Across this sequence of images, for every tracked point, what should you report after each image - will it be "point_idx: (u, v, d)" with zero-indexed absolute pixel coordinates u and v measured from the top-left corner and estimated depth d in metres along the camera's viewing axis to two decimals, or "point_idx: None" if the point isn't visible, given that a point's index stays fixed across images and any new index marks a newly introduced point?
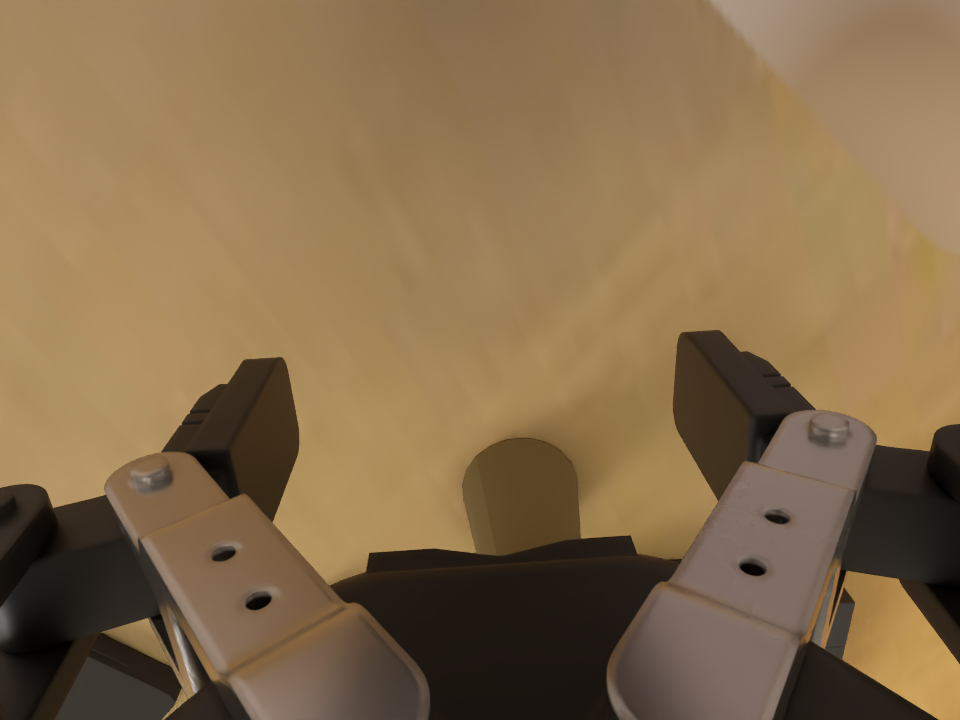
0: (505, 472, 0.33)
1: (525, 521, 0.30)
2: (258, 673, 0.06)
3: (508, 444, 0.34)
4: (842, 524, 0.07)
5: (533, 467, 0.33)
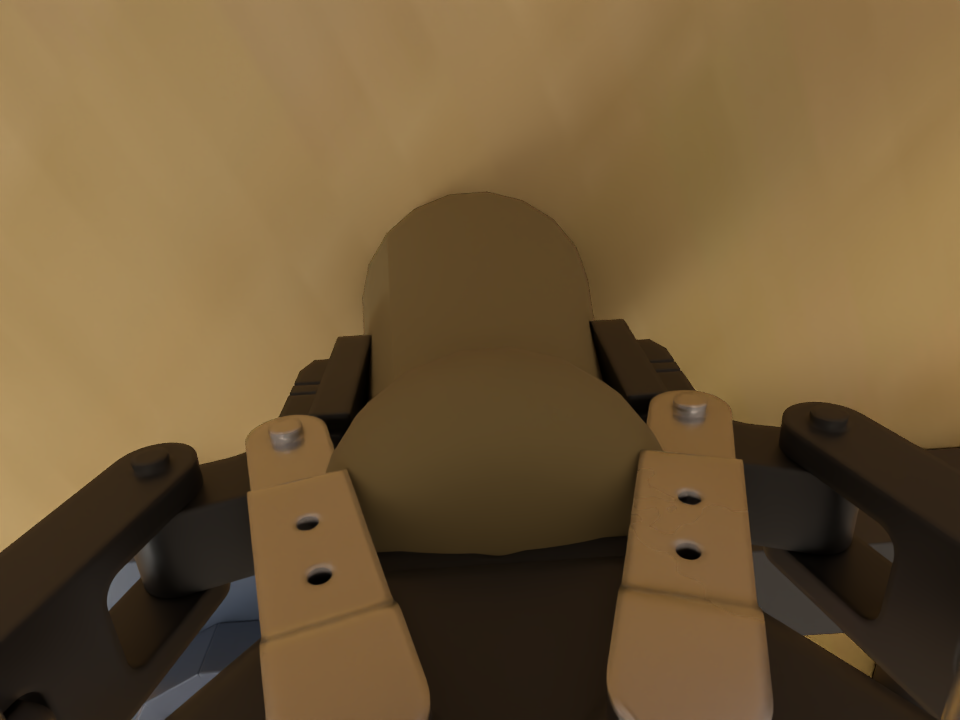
0: (437, 235, 0.15)
1: (468, 296, 0.12)
2: (286, 648, 0.06)
3: (449, 200, 0.17)
4: (744, 493, 0.08)
5: (497, 225, 0.15)
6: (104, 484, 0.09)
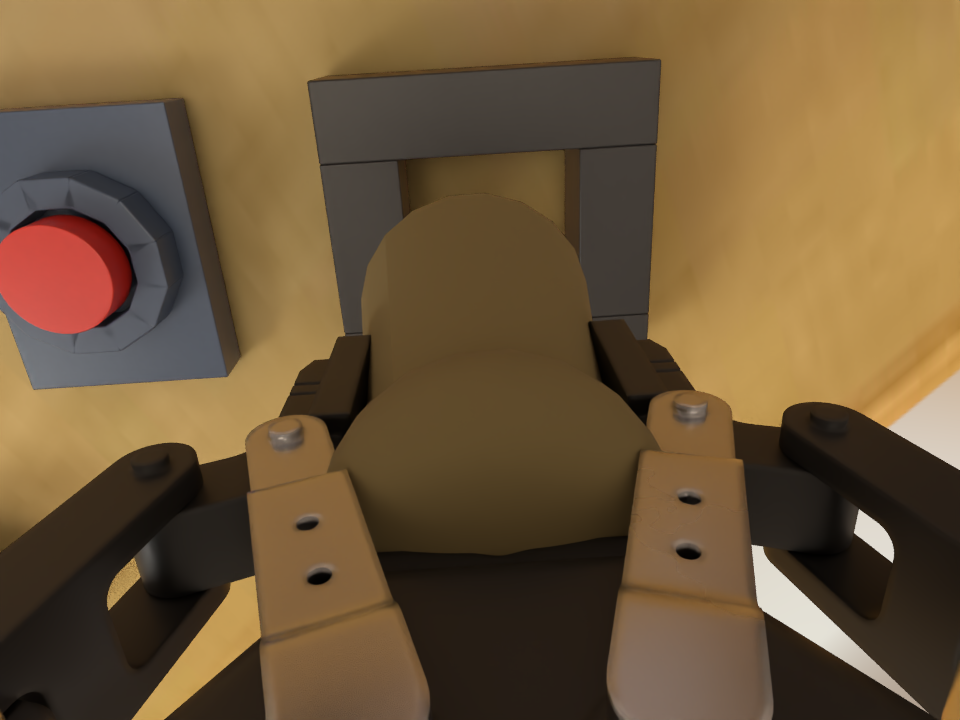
0: (435, 236, 0.15)
1: (468, 298, 0.12)
2: (285, 648, 0.06)
3: (447, 201, 0.17)
4: (745, 493, 0.08)
5: (495, 226, 0.15)
6: (104, 484, 0.09)
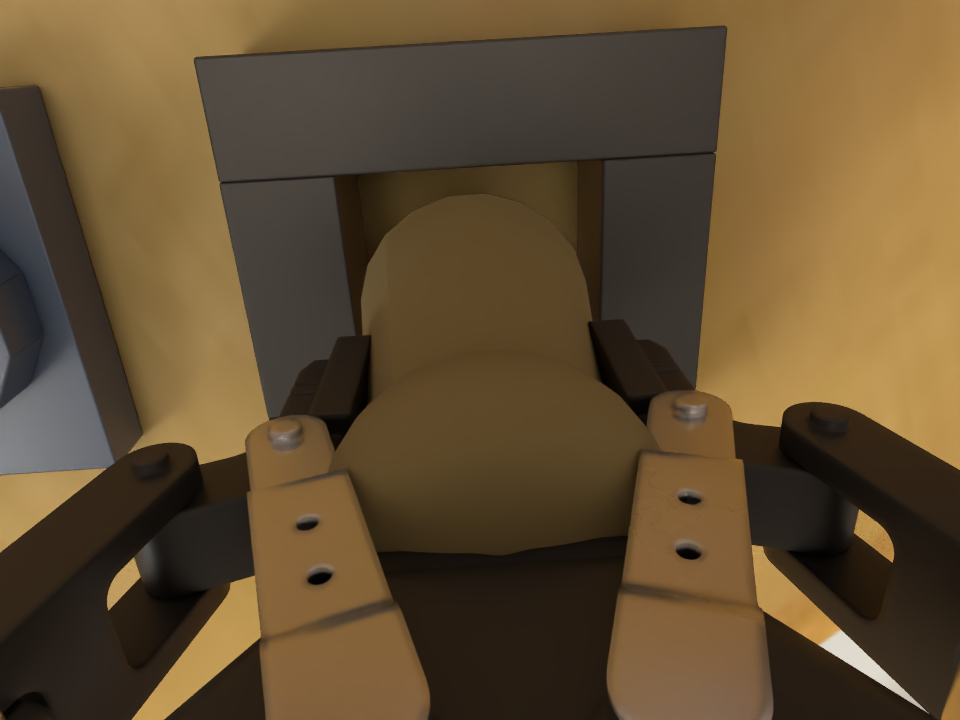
0: (435, 236, 0.15)
1: (467, 298, 0.12)
2: (286, 648, 0.06)
3: (447, 201, 0.17)
4: (745, 493, 0.08)
5: (495, 226, 0.15)
6: (103, 484, 0.09)
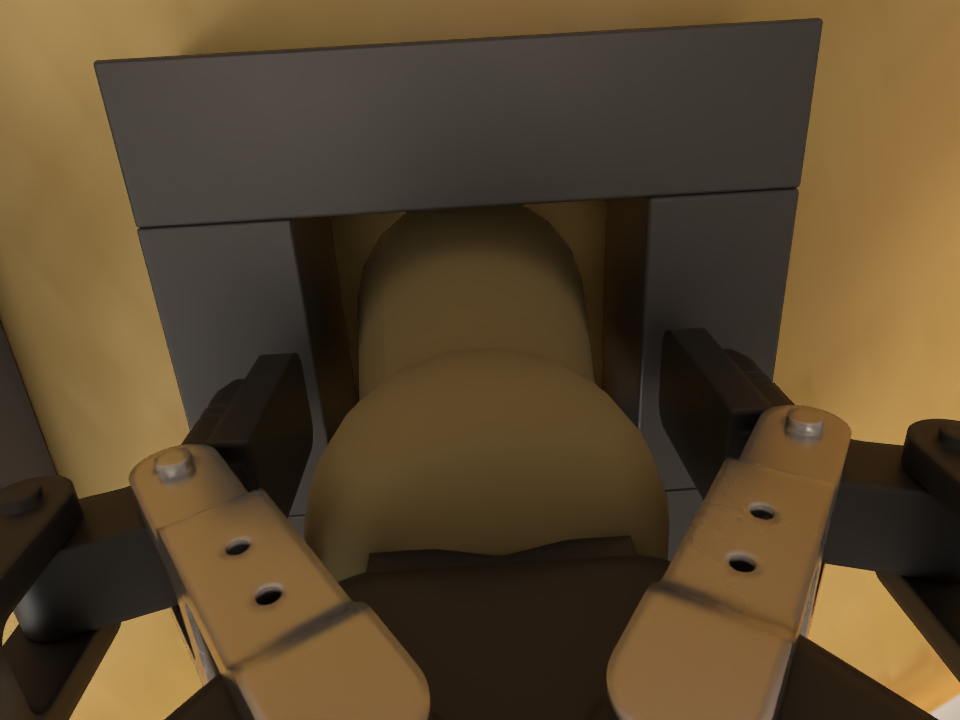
0: (430, 236, 0.15)
1: (460, 297, 0.12)
2: (262, 668, 0.06)
3: None
4: (826, 518, 0.07)
5: (490, 226, 0.15)
6: None
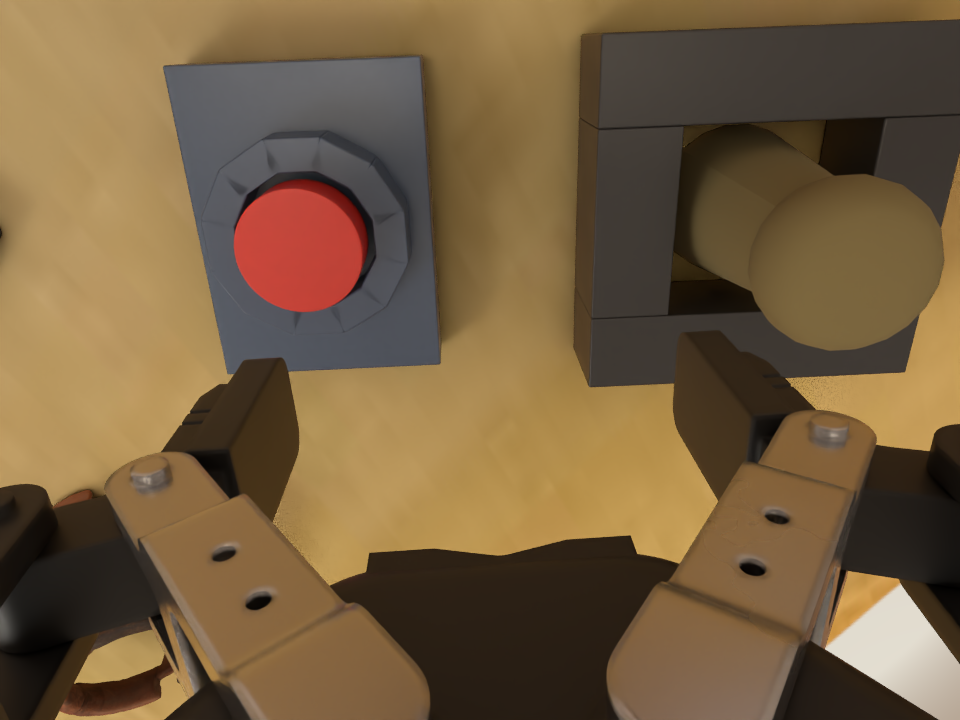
0: (738, 144, 0.26)
1: (792, 166, 0.23)
2: (258, 673, 0.06)
3: (728, 128, 0.27)
4: (842, 524, 0.07)
5: (772, 139, 0.26)
6: None
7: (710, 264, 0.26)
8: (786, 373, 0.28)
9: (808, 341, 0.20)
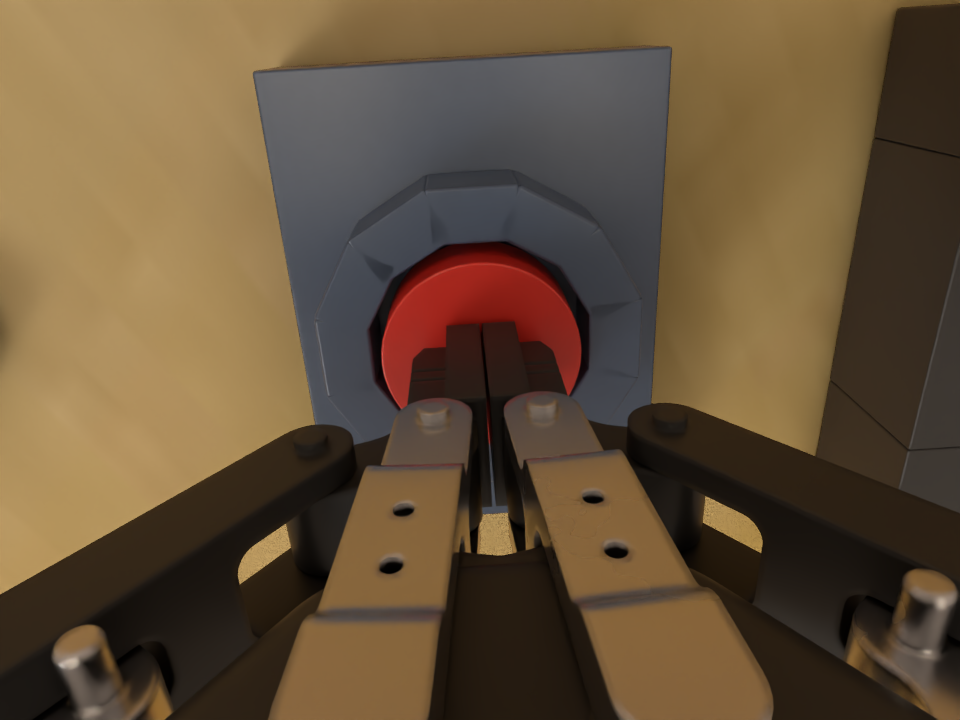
0: None
1: None
2: (324, 628, 0.06)
3: None
4: (638, 481, 0.08)
5: None
6: (266, 455, 0.10)
7: None
8: None
9: None
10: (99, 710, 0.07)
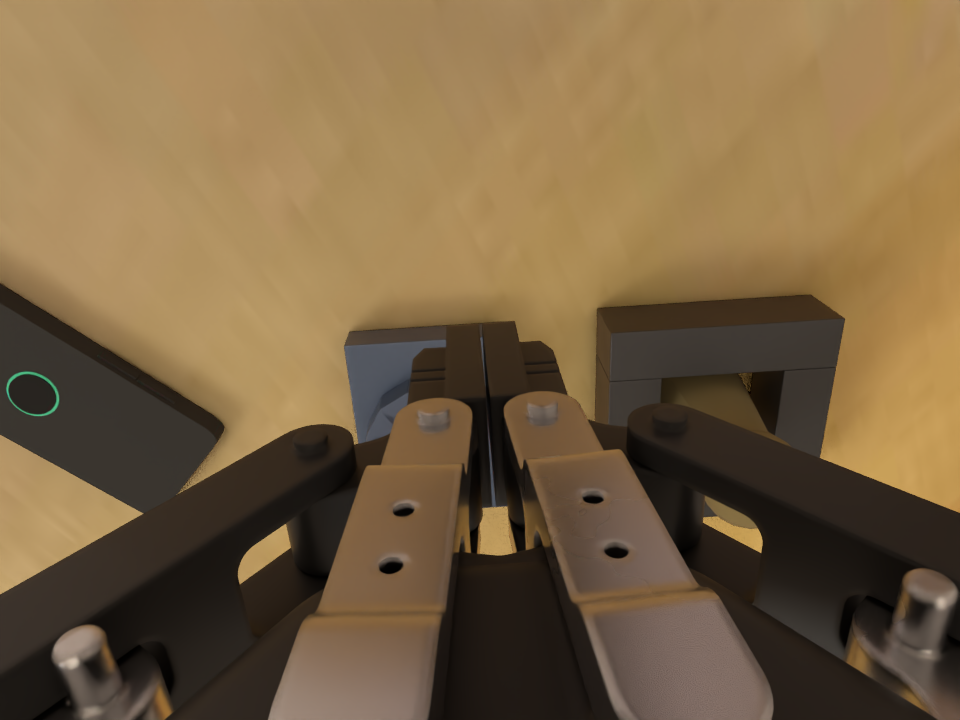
0: (696, 377, 0.41)
1: (726, 407, 0.38)
2: (323, 629, 0.06)
3: None
4: (638, 480, 0.08)
5: None
6: (267, 455, 0.10)
7: None
8: None
9: (732, 524, 0.36)
10: (98, 711, 0.07)
